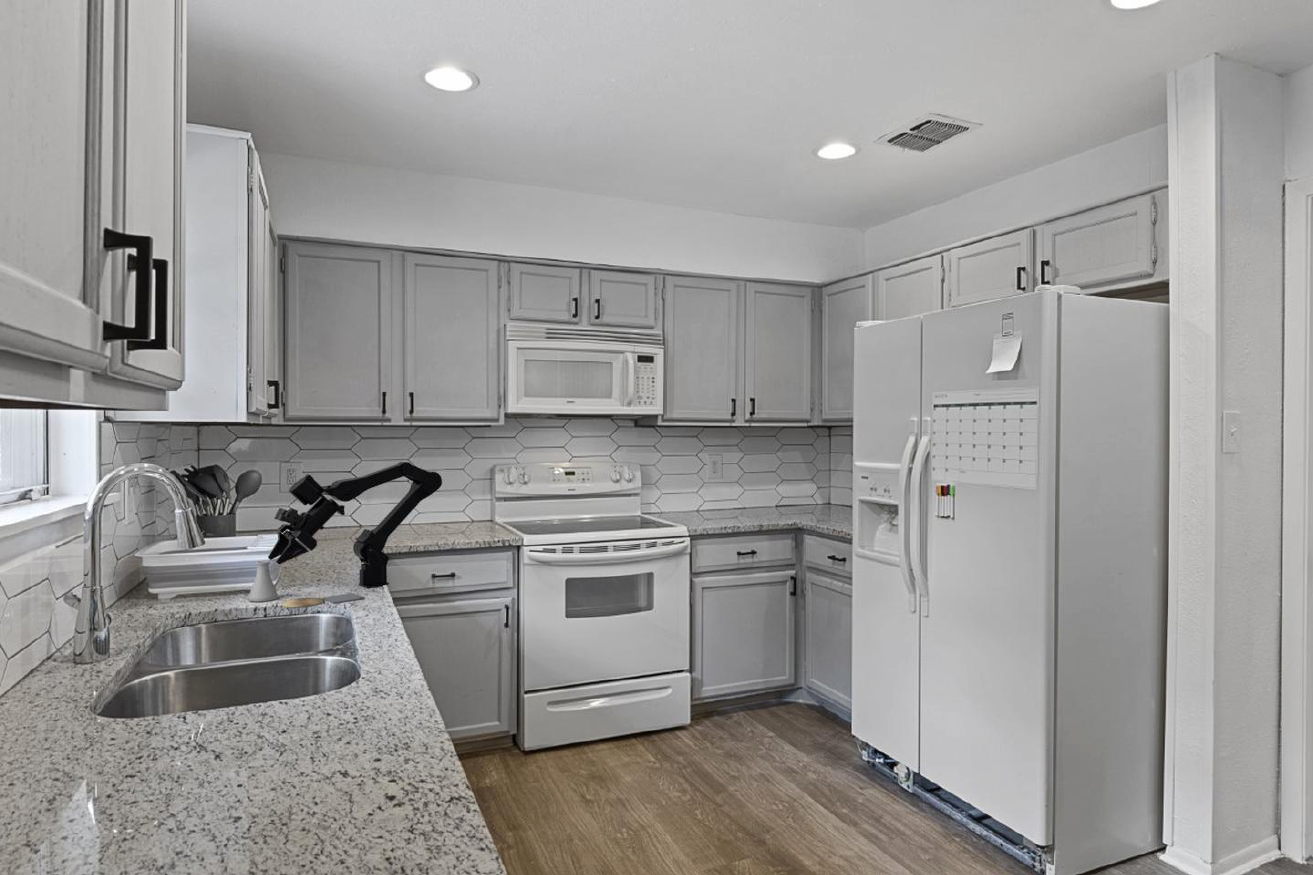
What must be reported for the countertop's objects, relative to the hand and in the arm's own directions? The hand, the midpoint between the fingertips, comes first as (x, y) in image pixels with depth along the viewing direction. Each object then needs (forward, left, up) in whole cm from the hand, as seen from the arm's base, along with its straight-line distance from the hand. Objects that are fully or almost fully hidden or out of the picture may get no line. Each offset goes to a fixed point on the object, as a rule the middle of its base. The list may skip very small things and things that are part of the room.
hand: (273, 560), depth 208 cm
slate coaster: (-13, +14, -10) cm, 22 cm away
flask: (+2, 0, -10) cm, 10 cm away
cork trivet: (-4, +12, -10) cm, 16 cm away
